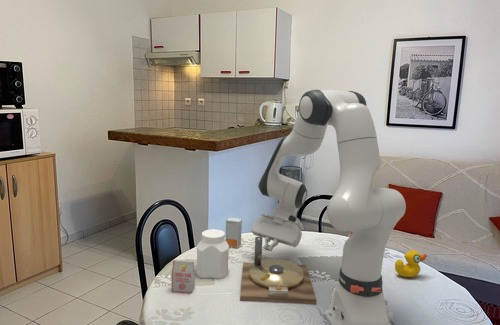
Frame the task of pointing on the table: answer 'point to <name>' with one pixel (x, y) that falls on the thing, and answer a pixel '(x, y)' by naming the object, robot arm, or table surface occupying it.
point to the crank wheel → (274, 270)
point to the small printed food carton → (183, 276)
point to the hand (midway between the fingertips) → (267, 249)
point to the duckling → (410, 264)
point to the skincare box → (233, 232)
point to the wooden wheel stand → (277, 290)
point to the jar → (212, 255)
